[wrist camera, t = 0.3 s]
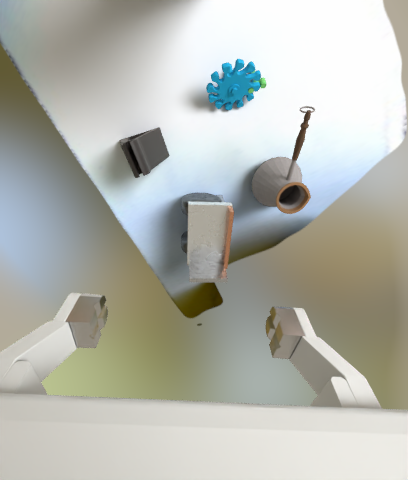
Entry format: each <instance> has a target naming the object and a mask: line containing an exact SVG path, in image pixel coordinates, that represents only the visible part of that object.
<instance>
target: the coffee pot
mask: <svg viewBox="0 0 408 480" xmlns="http://www.w3.org/2000/svg"><path fill="white" fill-rule="evenodd" d="M302 108H312V109H313V111H310V110H308V111H307V112H305V111H302V110H301V109H302ZM302 108H300V111H301V112H303V113H306V114H305V116H304V122H303V123H302V124H301V130H300V133H299V135H298V137H297V139H296V144H295V148H294V153H293V157H292V159H289V158H286V157H276V158H271V159H269V160H267V161H265V162H264V163H263V164H262V165H261V166H259V168H258V169H257V170H256V172H255V174H254V176H253V179H252V192H253V194H254V197H255V198H256V199H257V200H258V201H259V202H260V203H262V204H263V205H266V206H273V207H278V209H279V210H280V211H282V212H283V213H287V214H292V213H296V212H298V211H300V210H301V209H303V208H304V206H305V205H306V204H307V203H308V201H309V199H310V198H311V196H310V193H309V190H308V188H307V187H306V186H305V185H304V184H303V183H302V174H301V170H300V168H299V166H298V165H297V163H296V160H297V158H298V156H299V153H300V150H301V148H302V145H303V142H304V140H305V133H306V129H307V128H308V126H309V125H308V120H309V119H310V115H311V114H310V113H312V112H314V111H315V108H313V107H309V106H305V107H302Z"/></svg>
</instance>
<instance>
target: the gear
mask: <svg viewBox="0 0 408 480" xmlns="http://www.w3.org/2000/svg"><path fill="white" fill-rule="evenodd" d="M243 67H244V61H243V60H241V59H237V60H236V64H235V68H234V69H233V70H232V66H231V64H229V63H224V64H222V70H223V72H224V77H223V78H222V79H219V75H218V72H217V71H215V72H214V73H213V74H212V75H211V79H212V81H213V82H216V83H217V84H218V87H214V86H213V84H212V83H209V84H208V85H207V88H206V89H207V92H208V93H211V92H215V93H218V94H217V95H214V94H212V93H211V94H209V101H210V103H212V102H214V101H216V100H217V101H216V102H215V106H216V107H217V108H218V109H220V108H221V107H222V105H223V104H225V103H226V104H225V108H226V110H231V109H232V105H233V103H234V102H235V101H236V100H238V101H237V102H236V104H237V107H238V108H239V107H243V105H244V104H243V100H242V98H243V96H244V95H246V97H247V100H248V101H250V100H252V99H253V98H254V96H253V93H252V92H253V91H258V90H259V88H260V87H261V88H265V87H266V81H265V78H261V74H260V71H259V70H258V71H256V72H255V66H254V63H253V62H249V63H248V65H247V66H246V67H245V68H244V69H243V70H241V71H238V70H240V69H242V68H243ZM249 72H251V74H247V73H249ZM260 78H261V79H260ZM219 99H222V100H219ZM227 102H228V103H227Z"/></svg>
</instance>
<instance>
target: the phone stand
mask: <svg viewBox="0 0 408 480" xmlns="http://www.w3.org/2000/svg"><path fill="white" fill-rule="evenodd" d="M120 143H121V146H122V149H123V151H124V153H125V156H126V158H127V160H128V162H129V165H130V167H131V169H132V171H133V174H134V176H135V178H138V177H140V176H139V174H141V173H143V175H144V176H145V175H147V174H149V173H150V171H151V170H152V169H153V168H154V167H155V166H157V165H158V164H159V163H161V162H162V161H163V160H165V159H166V158H167V157H169V153H168V150H167V148H166V145H165V142H164V139H163V136H162V133H161V130H160V128H156V129H153V130H150V131H147V132H144V133H140V134H137V135H134V136H131V137H128V138H125V139H122V140H120Z"/></svg>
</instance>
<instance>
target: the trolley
mask: <svg viewBox="0 0 408 480" xmlns="http://www.w3.org/2000/svg"><path fill="white" fill-rule="evenodd" d="M182 212H183V213H184V214H185V215H187V216H188V231H187V232H185V233H184V234H183V235H182V238H181V247H182V250H183V251H184V252H185V253H187V265H189V282H227V279H228V278H227V273H226V269H227V266H228V257H229V249H230V241H231V233H232V225H233V217H234V210H233V205H232V203H228V202H224V199H223V196H222V195H216V196H215V195H212V194H208V193H191V194H187V195H185V196H183V197H182Z"/></svg>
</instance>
